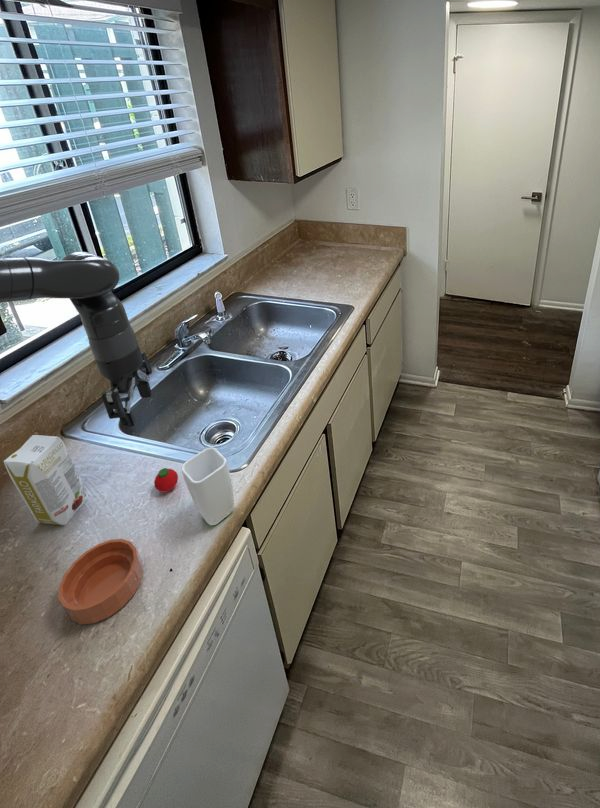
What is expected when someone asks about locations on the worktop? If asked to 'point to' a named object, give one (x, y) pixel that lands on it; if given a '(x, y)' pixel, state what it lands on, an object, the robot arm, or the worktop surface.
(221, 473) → the cup
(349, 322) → the worktop surface
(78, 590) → the bowl
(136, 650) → the worktop surface
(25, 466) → the juice carton
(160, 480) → the tomato
